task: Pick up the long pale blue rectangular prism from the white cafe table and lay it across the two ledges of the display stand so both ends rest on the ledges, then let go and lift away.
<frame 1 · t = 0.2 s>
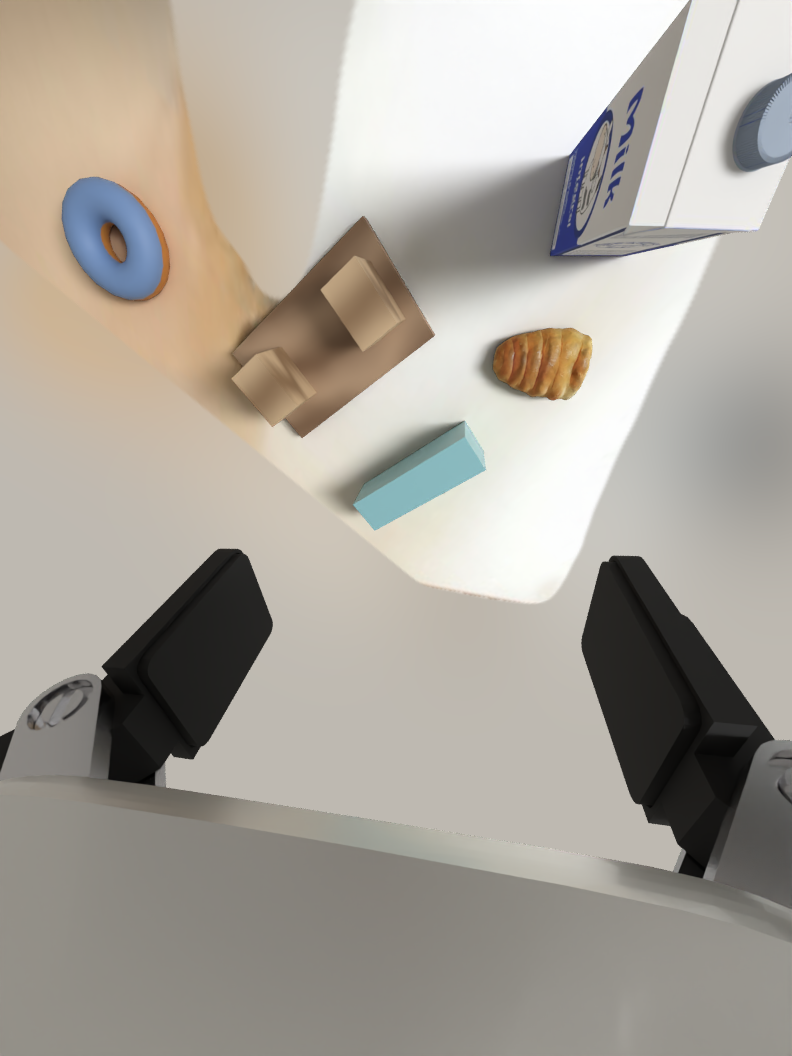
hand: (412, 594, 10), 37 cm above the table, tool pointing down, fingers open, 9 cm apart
pale blue rectangular prism: (420, 467, 48), on the table
milk carton: (598, 207, 32), on the table
doughnut: (133, 245, 39), on the table
pastry: (542, 363, 39), on the table
display stand: (331, 343, 41), on the table
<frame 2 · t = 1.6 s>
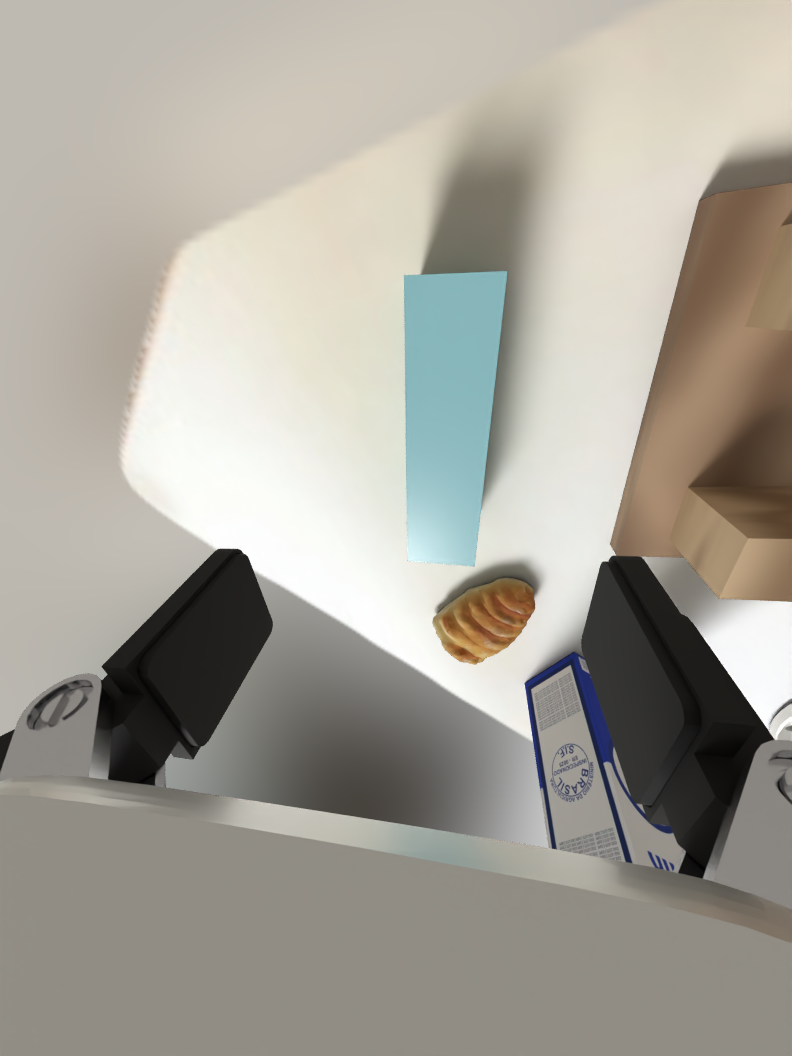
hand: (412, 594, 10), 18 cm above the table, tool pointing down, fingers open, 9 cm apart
pale blue rectangular prism: (450, 419, 25), on the table
milk carton: (573, 681, 37), on the table
pastry: (480, 607, 34), on the table
display stand: (756, 406, 21), on the table
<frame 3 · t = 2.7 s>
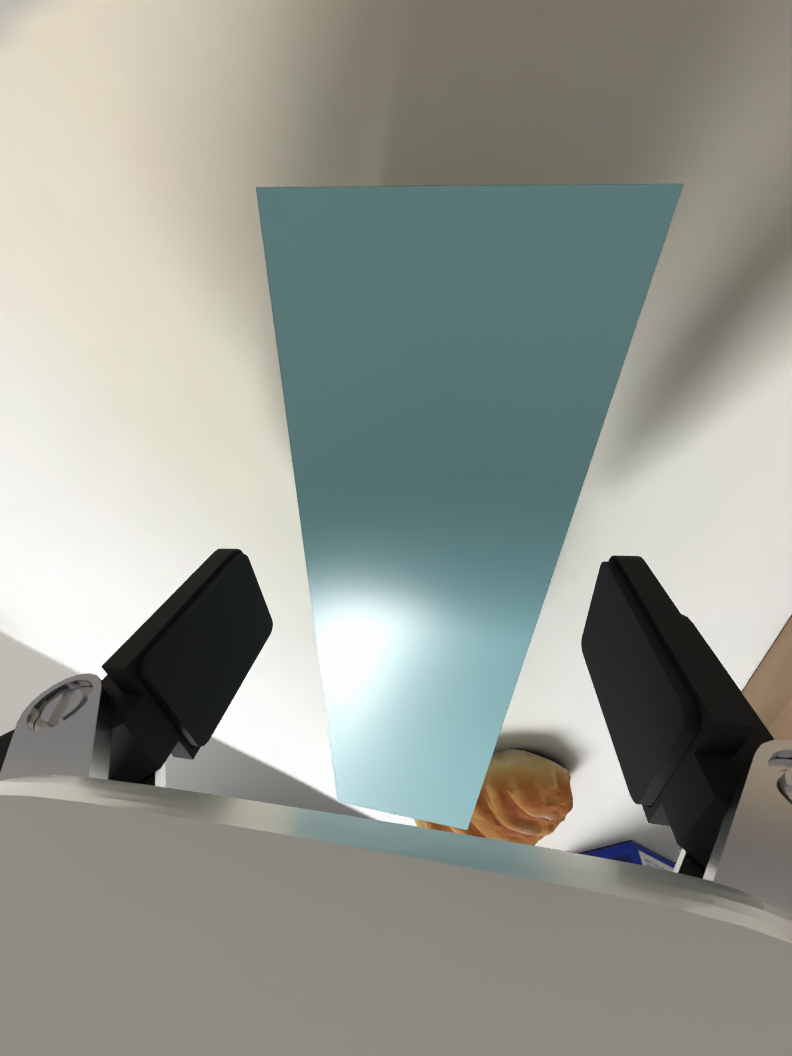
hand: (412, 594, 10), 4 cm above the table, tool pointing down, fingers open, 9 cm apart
pale blue rectangular prism: (434, 527, 13), on the table
milk carton: (624, 866, 25), on the table
pastry: (482, 773, 22), on the table
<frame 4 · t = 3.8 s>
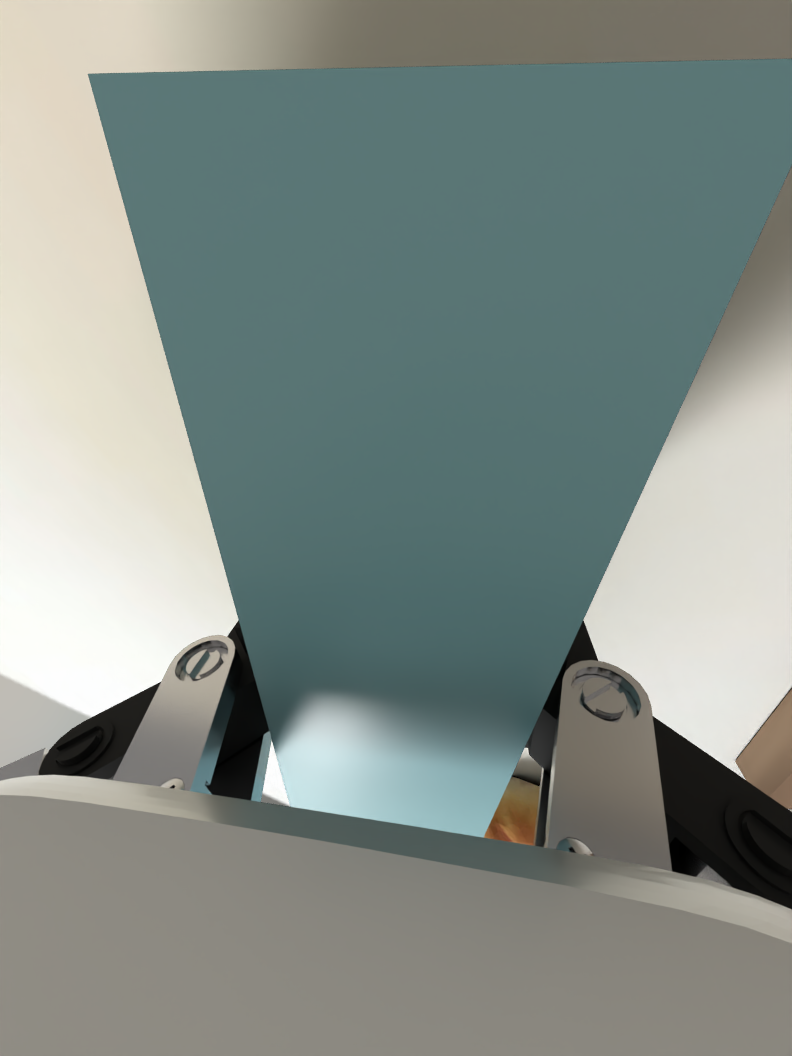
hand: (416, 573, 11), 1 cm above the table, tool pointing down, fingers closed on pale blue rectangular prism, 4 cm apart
pale blue rectangular prism: (420, 552, 12), on the table, touching gripper
pastry: (475, 798, 21), on the table
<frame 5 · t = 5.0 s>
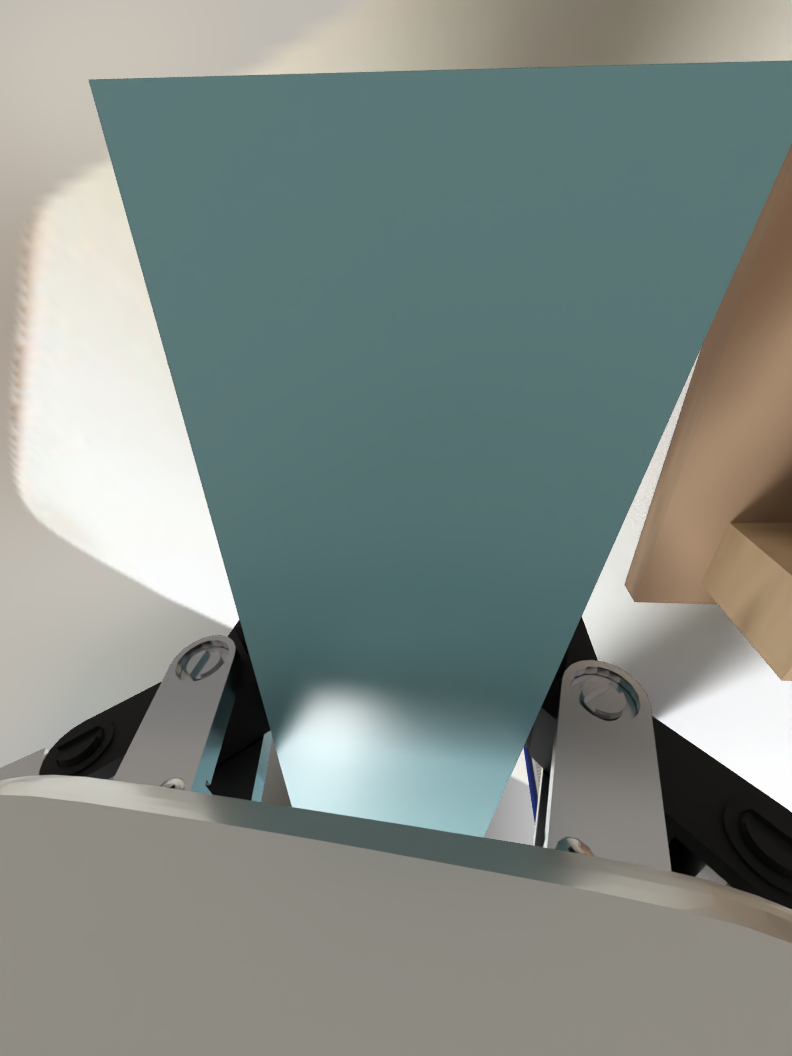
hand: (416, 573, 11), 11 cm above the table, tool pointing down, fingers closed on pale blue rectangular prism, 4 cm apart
pale blue rectangular prism: (420, 551, 12), point 9 cm above the table, touching gripper
milk carton: (576, 728, 32), on the table
when the fingers open (10 cm above the table, at t = 9.2 s): pale blue rectangular prism drops 1 cm, resting on display stand.
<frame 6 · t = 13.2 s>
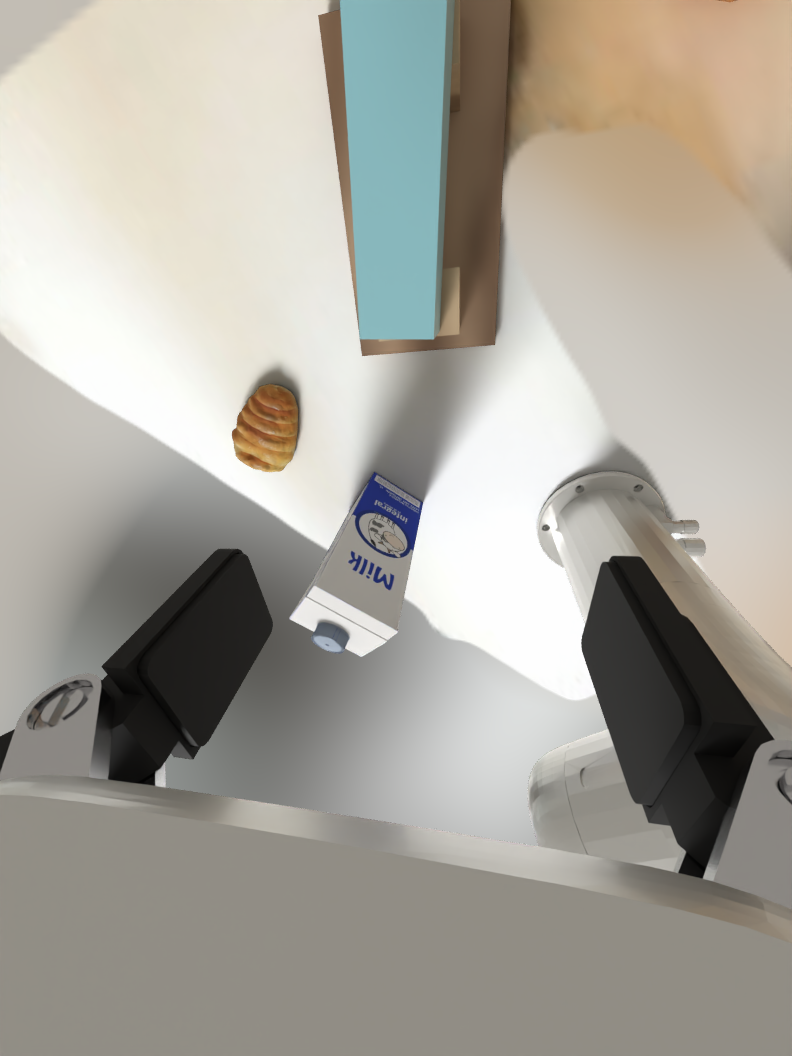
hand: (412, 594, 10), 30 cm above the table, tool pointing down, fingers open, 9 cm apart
pale blue rectangular prism: (409, 185, 22), point 7 cm above the table, touching display stand
milk carton: (385, 507, 44), on the table
pastry: (271, 427, 41), on the table
display stand: (421, 209, 29), on the table
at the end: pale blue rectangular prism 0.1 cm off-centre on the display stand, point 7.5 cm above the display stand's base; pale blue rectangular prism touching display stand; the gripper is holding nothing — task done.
